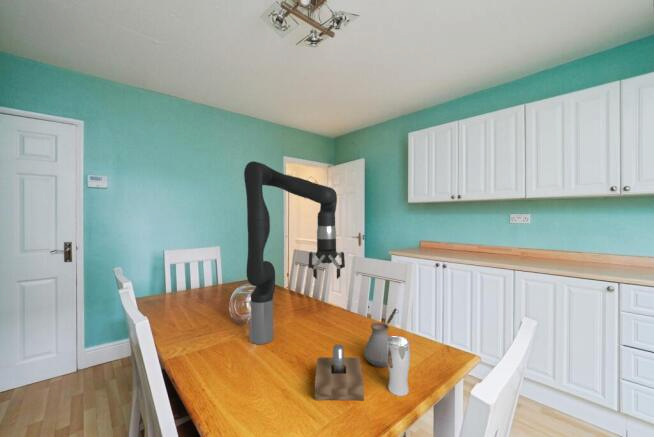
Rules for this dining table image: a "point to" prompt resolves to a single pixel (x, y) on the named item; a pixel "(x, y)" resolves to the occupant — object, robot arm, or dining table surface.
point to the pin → (338, 359)
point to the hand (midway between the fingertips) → (326, 278)
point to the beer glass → (398, 364)
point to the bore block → (339, 380)
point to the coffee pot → (378, 343)
